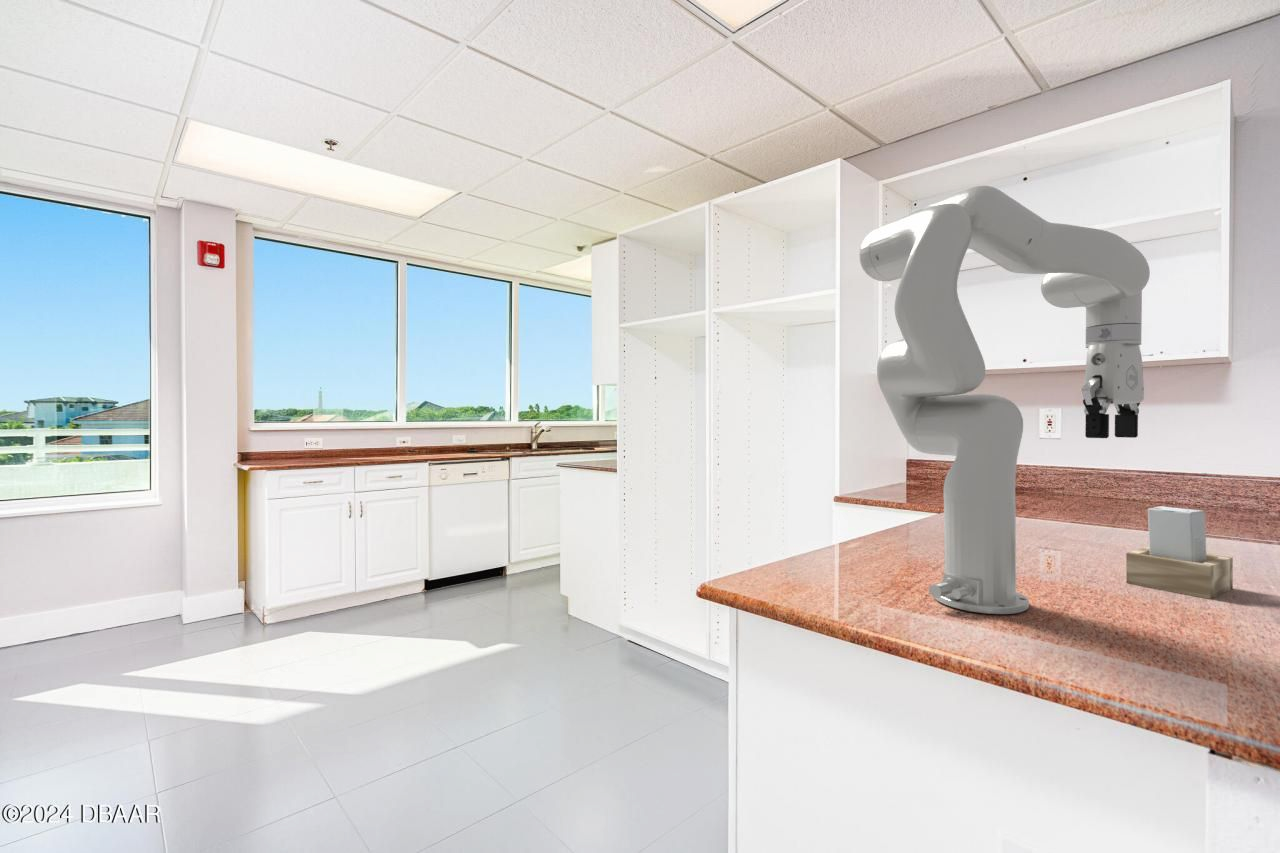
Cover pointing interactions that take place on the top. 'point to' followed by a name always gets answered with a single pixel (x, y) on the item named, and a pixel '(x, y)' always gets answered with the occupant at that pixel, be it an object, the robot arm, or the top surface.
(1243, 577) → the top surface
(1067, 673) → the top surface
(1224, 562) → the well block
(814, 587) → the top surface
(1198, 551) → the skincare box
